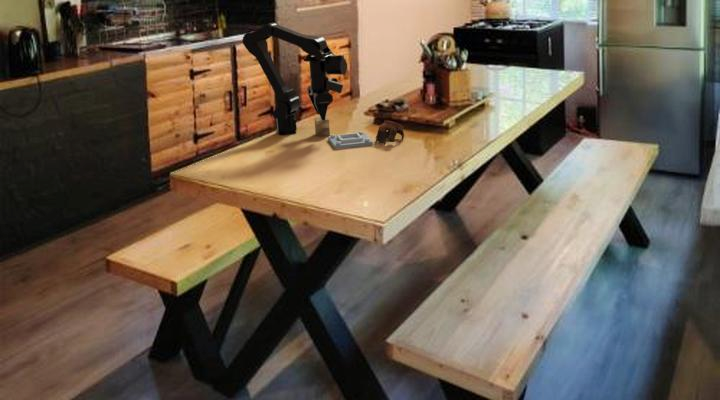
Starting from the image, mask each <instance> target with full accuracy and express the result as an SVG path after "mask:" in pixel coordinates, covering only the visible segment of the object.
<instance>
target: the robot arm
mask: <svg viewBox="0 0 720 400" xmlns="http://www.w3.org/2000/svg"><path fill="white" fill-rule="evenodd" d="M272 37H273V38H276V39H279V40H281V41H283V42H287V43H288V44H292V45H294V46H297V47H298V48H300V49H301V50H302V52H304V53H306V54H307V55H306V56H305V58H304V59H303V62H308V63H309V73H310V74H309V81H310V84H309V85H308V86H307V87H306V93H307V94H308V95H307V96H308V98H309V100H310V102H311V104H312V106H313V109H314V110H315V112H316V114H317V115H319V118H321V119H322V120H325V117H327V111H328V108H329V107H328V106H329V105H331V104H332V103H333V102H334V96H333V95H332V93H331V92H332V91H333V92H336V93H337V94H342V91H343V87H344V84H343V83H341V82H340V81H339V79H338V78H336V77H332V78H331V79H329V77H328V76H327V75H337V76H338V75H339V76H345V75H346V73H347V72H348V63H347V60H346V59H345V55H344V54H337V55H336V54H334V53H333V51H332V50H331V48H330V47H329V46H328V44H327V41H326V39H325V38H324V37H322V36H317V35H311V34H310V35H307V34H303V33H302V32H298V31H295V30H293V29H289V28H287V27H284V26H283V25H279V24H278V23H276V22H270V23H267V24H265V25H264V26H261V27H260V28H259V29H257V30H253V31H250V32H246V33H245V34H244V35H243V37H242V40H241V41H242V44H243V46H244V48H246V50H247V51H248V53H250V55H252V56H253V57H254V58H256V60H257V62H258V64H259V65H260V68H261V70H262V71H263V73H264V75H265V77H266V79H267V81H268V82H269V85H270V86H271V89H272V90H273V92H274V97H275V98H274V100H275V101H274V102H275V105H276V106H277V107H275V109H274V110H273V111H272V116H273V119H275V120H276V132H277V134H278V136H283V135H291V134H297V129H298V128H297V119H296V118H295V115H296V114H297V110H298V109H299V108H300V104H301V103H300V102H301V101H300V97H299V95H298V94H297V91H296V90H295V88H292V89H290V88H289V87H288V86H287V85H286V83H285V81H284V79H283V77H282V75H281V73H280V72H279V70H278V67H277V66H276V64H275V62H274V61H273V58H272V57H271V55H270V53H269V46H268V45H269V44H268V41H267V40H268V39H271V38H272Z"/></svg>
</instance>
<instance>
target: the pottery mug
mask: <svg viewBox="0 0 720 400" xmlns="http://www.w3.org/2000/svg"><path fill="white" fill-rule="evenodd" d="M404 128H405V127H404V126H403V125H401V124H400V123H397V122H394V121H391V120H387V119H386V120H385V119H384V122H383V123H382V124H380V125H379V127H378V130H377V134H376V136H375V142H376V143H379V144H382V145H386V144H387V142H388V143H393V142H395V139H396V136H397V134H399V135H400V136H401V141H402V140H404V138H405V133H404V132H405V131H404Z"/></svg>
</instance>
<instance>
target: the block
mask: <svg viewBox="0 0 720 400" xmlns="http://www.w3.org/2000/svg"><path fill="white" fill-rule="evenodd" d="M314 132H315V135H316V136H317V138H320V137H330V136H331V130H330V119H329V118H328V117H327V116H326V117H325V120H322V119H321V117H314Z"/></svg>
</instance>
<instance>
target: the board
mask: <svg viewBox="0 0 720 400" xmlns="http://www.w3.org/2000/svg"><path fill="white" fill-rule="evenodd" d="M327 140H328V142H329V143H330V144H331V146H332V147H333V148H334V149H335V150H342V149H351V148H359V147H360V148H361V147H369V146H374V144H373V143H374V142H373V140H372V139H371V138H369V136H368V135H366V133H365V132H363V131H358V132H352V133H341V134H337V135H336V134H334V133H333V134H330V136H327Z"/></svg>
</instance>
